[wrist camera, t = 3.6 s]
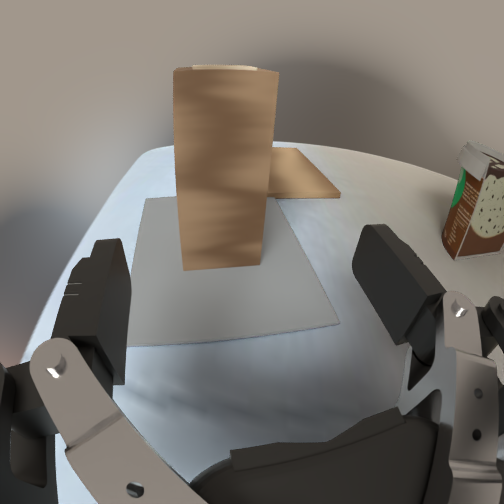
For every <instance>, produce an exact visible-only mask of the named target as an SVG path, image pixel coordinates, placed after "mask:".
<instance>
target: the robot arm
mask: <svg viewBox="0 0 504 504" xmlns="http://www.w3.org/2000/svg"><path fill="white" fill-rule="evenodd" d="M352 270H353V274H354V276H355V278H356V279H357V281H358V282H359V284H360V286H361V287H362V289H363V291H364V292H365V294H366V295H367V297H368V299H369V300H370V302H371V304H372V305H373V307H374V309H375V310H376V312H377V314H378V315H379V317H380V319H381V320H382V322H383V324H384V326H385V327H386V329H387V331H388V333H389V334H390V336H391V338H392V340H393V341H394V343H395V345H399V344H403V343H406V342H409V343H410V347H409V348H408V350H407V353H406V360H405V367H404V374H403V380H402V386H401V392H400V396H399V399H398V401H397V403H396V404H395V406H394V408H392V409H389V410H387V411H384V412H382V413H379V414H376V415H373V416H371V417H368V418H365V419H363V420H362V421H360V422H359V423H357V424H356V425H354V426H353V427H351V428H349V429H348V430H346V431H345V432H343V433H341V434H340V435H338V436H337V437H335V438H333V439H332V440H330V441H327V442H318V443H280V442H277V443H272V444H267V445H261V446H255V447H249V448H243V449H235V450H230V458H228V459H226V460H223V461H221V462H219V463H217V464H215V465H213V466H211V467H209V468H208V469H206V470H205V471H203V472H201V473H200V474H199V475H198V476H197V477H195V478H194V479H193V480H192V481H191V482H190V483H188V482H187V481H186V480H185V479H184V478H182V477H181V476H180V475H179V474H178V473H177V472H176V471H175V470H174V469H173V468H172V467H171V466H170V465H169V464H168V463H167V462H166V461H165V460H164V459H163V458H162V457H161V456H160V455H159V454H158V453H157V451H156V450H155V449H154V448H153V447H152V446H151V445H150V444H149V443H148V442H147V441H146V439H145V438H144V437H143V436H142V435H141V434H140V433H139V431H138V430H137V429H136V428H135V427H134V425H133V424H132V423H131V422H130V421H129V419H128V418H127V417H126V416H125V414H124V413H123V412H122V411H121V409H120V408H119V407H118V405H117V404H116V403H115V401H114V400H113V399H112V396H113V385H125V363H126V348H127V335H128V324H129V314H130V305H131V296H132V286H131V278H130V274H129V270H128V266H127V262H126V258H125V254H124V249H123V245H122V242H121V240H120V239H119V238H117V239H105V240H97V241H96V242H95V244H94V247H93V250H92V253H91V256H90V257H87V258H82V259H81V260H80V261H79V262H78V263H77V265H76V266H75V267H74V268H73V269H72V272H71V274H70V277H69V280H68V285H67V286H66V289H65V292H64V296H63V298H62V301H61V304H60V308H59V311H58V314H57V318H56V321H55V325H54V328H53V332H52V336H51V339H50V340H47V341H45V342H43V343H42V344H41V345H40V346H39V347H38V348H37V349H36V350H35V351H34V353H33V355H32V357H31V360H30V361H28V362H25V363H22V364H19V365H16V366H12V367H8V368H5V367H4V366H3V365H2V364H1V363H0V504H58V494H57V483H56V466H55V434H58V433H60V434H61V436H62V438H63V439H64V441H65V443H66V446H67V448H66V449H65V455H66V457H67V460H68V461H69V463H70V465H71V467H72V468H73V470H74V471H75V473H76V474H77V475H78V477H79V478H80V480H81V481H82V483H83V484H84V485H85V487H86V488H87V489H88V491H89V492H90V493H91V495H92V496H93V497H94V499H95V500H96V501H97V502H98V504H504V385H503V384H502V383H501V382H500V380H499V378H498V376H497V367H496V363H495V361H494V360H492V359H489V358H487V356H488V355H489V354H490V353H491V352H492V351H493V349H494V348H495V347H496V346H497V345H498V344H499V346H500V348H501V349H502V351H503V353H504V299H502V298H500V297H497V296H493V297H492V298H491V299H490V300H489V302H488V303H487V304H486V306H485V307H475V306H474V304H473V303H472V302H471V300H470V299H469V298H467V297H466V296H465V295H463V294H461V293H459V292H456V291H448V292H447V291H446V290H445V289H444V288H443V286H442V285H441V284H440V282H439V281H438V280H437V279H436V277H435V276H434V275H433V274H432V272H431V271H430V270H429V269H428V268H427V266H426V265H423V262H422V260H421V259H420V258H419V257H417V255H416V253H415V252H414V251H413V250H412V249H411V248H410V246H409V245H407V244H406V243H404V242H403V241H402V240H400V239H399V238H398V237H397V236H396V234H395V233H394V232H393V231H392V230H391V229H390V228H389V227H388V226H387V225H385V224H374V225H366V226H364V228H363V229H362V232H361V235H360V238H359V242H358V245H357V248H356V251H355V254H354V257H353V260H352ZM10 440H11V444H10Z"/></svg>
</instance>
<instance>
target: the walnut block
mask: <svg viewBox="0 0 504 504" xmlns="http://www.w3.org/2000/svg"><path fill="white" fill-rule="evenodd" d="M278 80H279V73H278V72H273V71H269V70H264V69H259V68H256V67H250V66H242V65H192V67H186V68H185V67H184V68H177V69H176V70H174V73H173V115H174V117H173V118H174V154H175V175H176V192H177V207H178V220H179V232H180V243H181V254H182V263H183V271H189V270H203V269H217V268H230V267H243V266H256V265H260V259H261V250H262V240H263V231H264V221H265V212H266V202H267V193H268V183H269V173H270V163H271V153H272V143H273V133H274V122H275V112H276V102H277V90H278Z"/></svg>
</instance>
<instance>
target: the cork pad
mask: <svg viewBox="0 0 504 504" xmlns="http://www.w3.org/2000/svg"><path fill="white" fill-rule="evenodd" d="M340 194H341V192H340V191H339V190H338V189H337V188H336V187H335V186H334V185H333V184H332V183H331V182H330V181H329V180H328V179H327V178H326V177H325V176H324V175H323V174H322V173H321V172H320V171H319V170H318V169H317V168H316V167H315V166H314V165H313V164H312V163H311V162H310V161H309V160H308V159H307V158H306V157H305V156H304V155H303V154H302V153H301V152H300V151H299V150H298V149H297V148H281V147H272V153H271V163H270V173H269V183H268V193H267V197H275V199H276V198H340Z"/></svg>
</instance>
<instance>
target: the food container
mask: <svg viewBox="0 0 504 504" xmlns="http://www.w3.org/2000/svg"><path fill="white" fill-rule="evenodd" d="M457 161H458V163H459V164H460V165H461V166H462V167H461V172H460V176H459V179H458V183H457V187H456V191H455V194H454V198H453V202H452V205H451V208H450V212H449V215H448V218H447V221H446V224H445V227H444V230H443V233H442V242H443V245H444V247H445V249H446V250H447V252H448V253H449V255H450V256H451V257H452V258H453V260H460V259H467V258H474V257H481V256H487V255H494V254H500V252H501V250H502V249H503V247H504V154H502V153H500V152H498V151H496V150H494V149H492V148H490V147H487V146H485V145H483V144H480V143H477V142H474V141H468V142H467V145H466V146H463V148H462V150H461V152H460V154H459V155H458V157H457Z"/></svg>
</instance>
